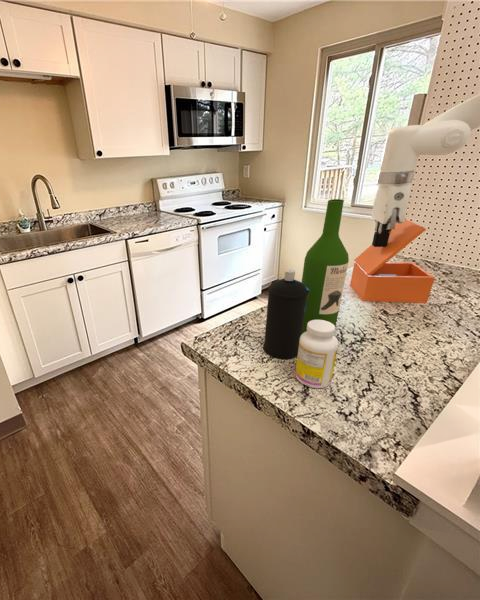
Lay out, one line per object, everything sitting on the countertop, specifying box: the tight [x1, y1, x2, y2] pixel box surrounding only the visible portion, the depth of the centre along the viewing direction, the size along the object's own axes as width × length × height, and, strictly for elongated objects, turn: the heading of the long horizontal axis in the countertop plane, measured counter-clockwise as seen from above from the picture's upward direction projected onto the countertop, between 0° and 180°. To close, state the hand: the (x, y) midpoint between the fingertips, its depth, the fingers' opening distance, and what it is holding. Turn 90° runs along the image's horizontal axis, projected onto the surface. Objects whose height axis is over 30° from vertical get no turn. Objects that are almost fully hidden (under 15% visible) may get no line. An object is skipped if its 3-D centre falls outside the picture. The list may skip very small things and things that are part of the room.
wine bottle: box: [301, 198, 350, 335], centre depth 73 cm, size 9×9×32 cm
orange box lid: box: [353, 218, 427, 276], centre depth 89 cm, size 16×13×1 cm
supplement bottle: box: [294, 320, 339, 389], centre depth 61 cm, size 7×7×13 cm
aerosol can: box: [262, 269, 309, 360], centre depth 70 cm, size 8×8×20 cm
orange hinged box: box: [349, 261, 436, 304], centre depth 93 cm, size 16×13×8 cm
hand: (379, 245), depth 90 cm, fingers closed
